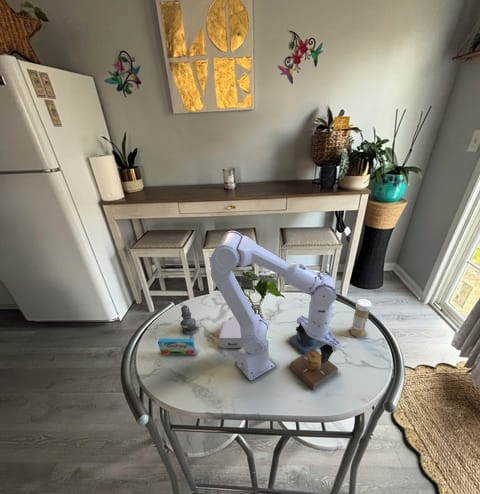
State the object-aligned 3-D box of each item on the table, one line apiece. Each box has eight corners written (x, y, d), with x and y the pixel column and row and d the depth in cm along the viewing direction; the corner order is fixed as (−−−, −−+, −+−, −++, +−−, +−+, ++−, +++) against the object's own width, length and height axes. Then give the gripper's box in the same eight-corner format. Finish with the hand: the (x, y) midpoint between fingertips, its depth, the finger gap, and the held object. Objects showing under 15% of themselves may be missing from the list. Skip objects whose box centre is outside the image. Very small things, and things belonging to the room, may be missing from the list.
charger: (248, 320, 106) (246, 348, 94) (225, 320, 107) (219, 347, 95) (248, 310, 104) (245, 338, 91) (224, 310, 105) (218, 337, 92)
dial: (323, 366, 82) (324, 357, 80) (313, 372, 80) (314, 363, 78) (313, 358, 85) (314, 349, 83) (304, 364, 83) (305, 355, 81)
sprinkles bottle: (367, 334, 96) (374, 303, 88) (357, 339, 94) (364, 308, 87) (357, 327, 99) (363, 296, 92) (347, 331, 98) (353, 301, 90)
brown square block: (313, 390, 78) (313, 384, 77) (289, 368, 86) (290, 362, 84) (337, 373, 83) (338, 368, 81) (313, 354, 90) (313, 348, 88)
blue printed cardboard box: (196, 352, 94) (193, 338, 91) (195, 355, 93) (192, 342, 89) (162, 351, 95) (158, 338, 92) (161, 354, 94) (157, 341, 91)
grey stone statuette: (200, 330, 103) (195, 305, 97) (185, 337, 101) (179, 311, 94) (193, 322, 107) (188, 297, 101) (179, 328, 105) (173, 303, 98)
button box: (304, 354, 90) (305, 347, 88) (289, 341, 95) (289, 334, 93) (325, 341, 94) (326, 334, 92) (310, 330, 100) (310, 322, 98)
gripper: (351, 326, 69) (343, 362, 77) (310, 299, 80) (307, 334, 87) (332, 337, 66) (326, 374, 74) (292, 308, 77) (290, 343, 84)
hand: (314, 353), depth 80 cm, fingers open, 7 cm apart
